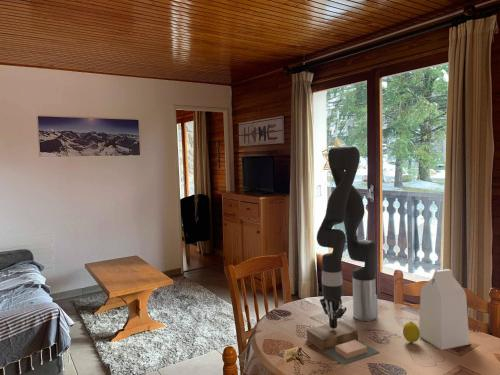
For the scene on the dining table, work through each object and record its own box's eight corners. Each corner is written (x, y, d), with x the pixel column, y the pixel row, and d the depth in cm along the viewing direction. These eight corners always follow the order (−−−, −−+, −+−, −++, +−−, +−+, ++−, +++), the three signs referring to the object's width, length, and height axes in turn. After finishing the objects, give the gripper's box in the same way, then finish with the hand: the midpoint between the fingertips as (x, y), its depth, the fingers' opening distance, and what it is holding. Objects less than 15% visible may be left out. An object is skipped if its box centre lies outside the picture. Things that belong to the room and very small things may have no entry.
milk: (441, 349, 133) (441, 276, 131) (418, 335, 144) (418, 268, 142) (469, 344, 136) (469, 272, 134) (444, 330, 147) (444, 264, 145)
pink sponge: (367, 346, 132) (367, 352, 132) (355, 339, 137) (355, 345, 137) (346, 353, 128) (346, 358, 128) (335, 345, 133) (335, 351, 133)
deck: (340, 330, 150) (340, 320, 150) (358, 340, 141) (358, 330, 141) (307, 340, 143) (306, 329, 143) (323, 351, 134) (323, 340, 134)
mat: (359, 341, 141) (359, 340, 141) (379, 352, 132) (379, 351, 132) (324, 351, 134) (324, 350, 134) (342, 364, 125) (342, 363, 125)
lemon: (418, 340, 140) (418, 319, 139) (420, 347, 135) (420, 325, 134) (402, 338, 142) (402, 317, 141) (403, 345, 136) (403, 323, 136)
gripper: (352, 285, 137) (353, 331, 138) (328, 275, 149) (329, 319, 150) (336, 288, 133) (337, 336, 134) (313, 279, 145) (314, 323, 146)
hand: (333, 327), depth 142 cm, fingers closed
